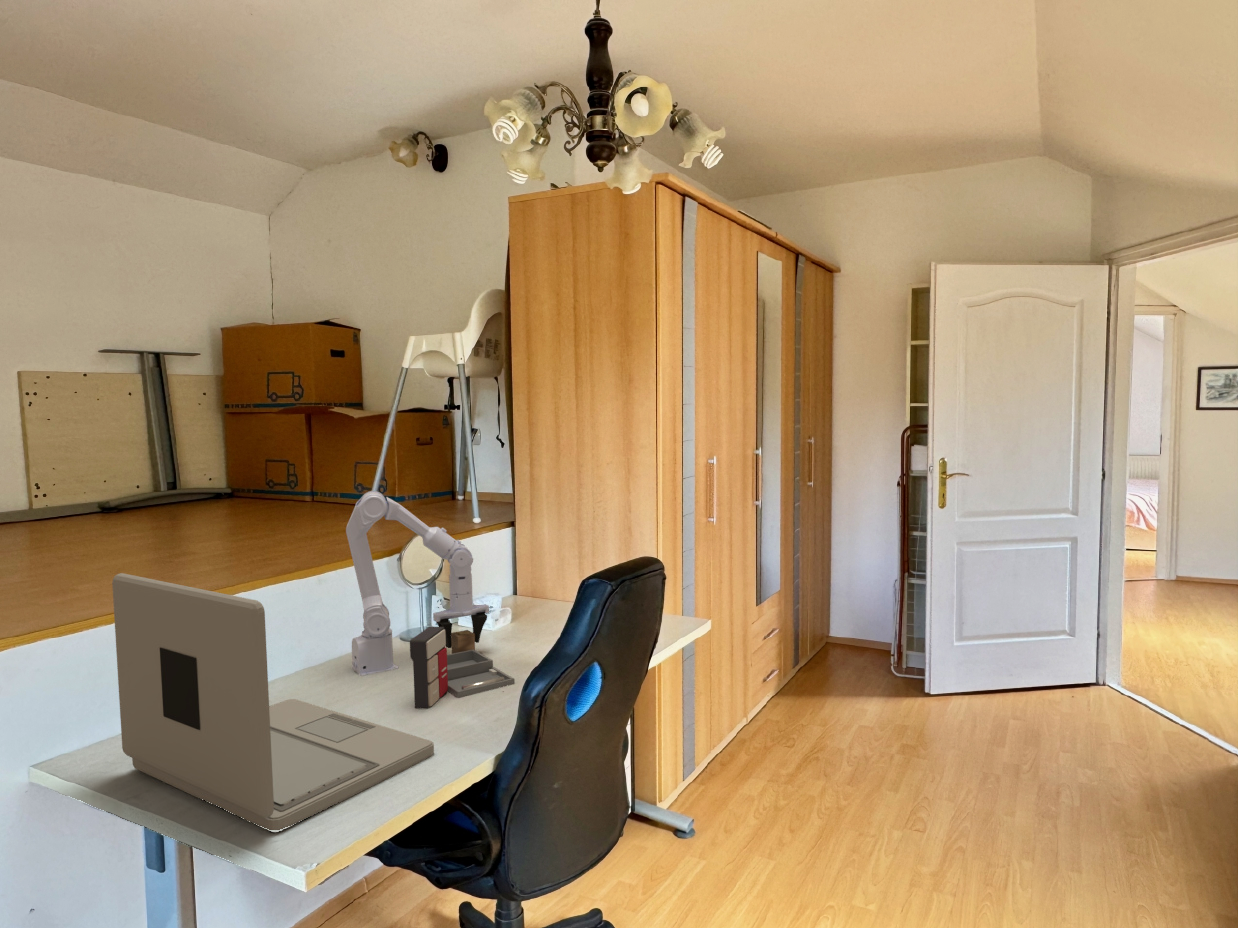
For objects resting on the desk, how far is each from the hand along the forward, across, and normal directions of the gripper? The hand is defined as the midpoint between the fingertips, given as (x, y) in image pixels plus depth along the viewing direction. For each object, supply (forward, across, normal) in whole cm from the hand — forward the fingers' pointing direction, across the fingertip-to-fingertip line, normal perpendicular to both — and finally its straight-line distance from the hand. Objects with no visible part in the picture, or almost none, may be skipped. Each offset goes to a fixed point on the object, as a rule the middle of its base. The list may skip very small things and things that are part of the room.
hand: (462, 644), depth 203 cm
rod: (+3, -6, -26) cm, 26 cm away
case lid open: (+3, -6, -21) cm, 22 cm away
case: (+3, -6, -10) cm, 12 cm away
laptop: (+4, -52, -38) cm, 64 cm away
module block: (+3, 0, 0) cm, 3 cm away
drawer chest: (+4, -18, -24) cm, 30 cm away
